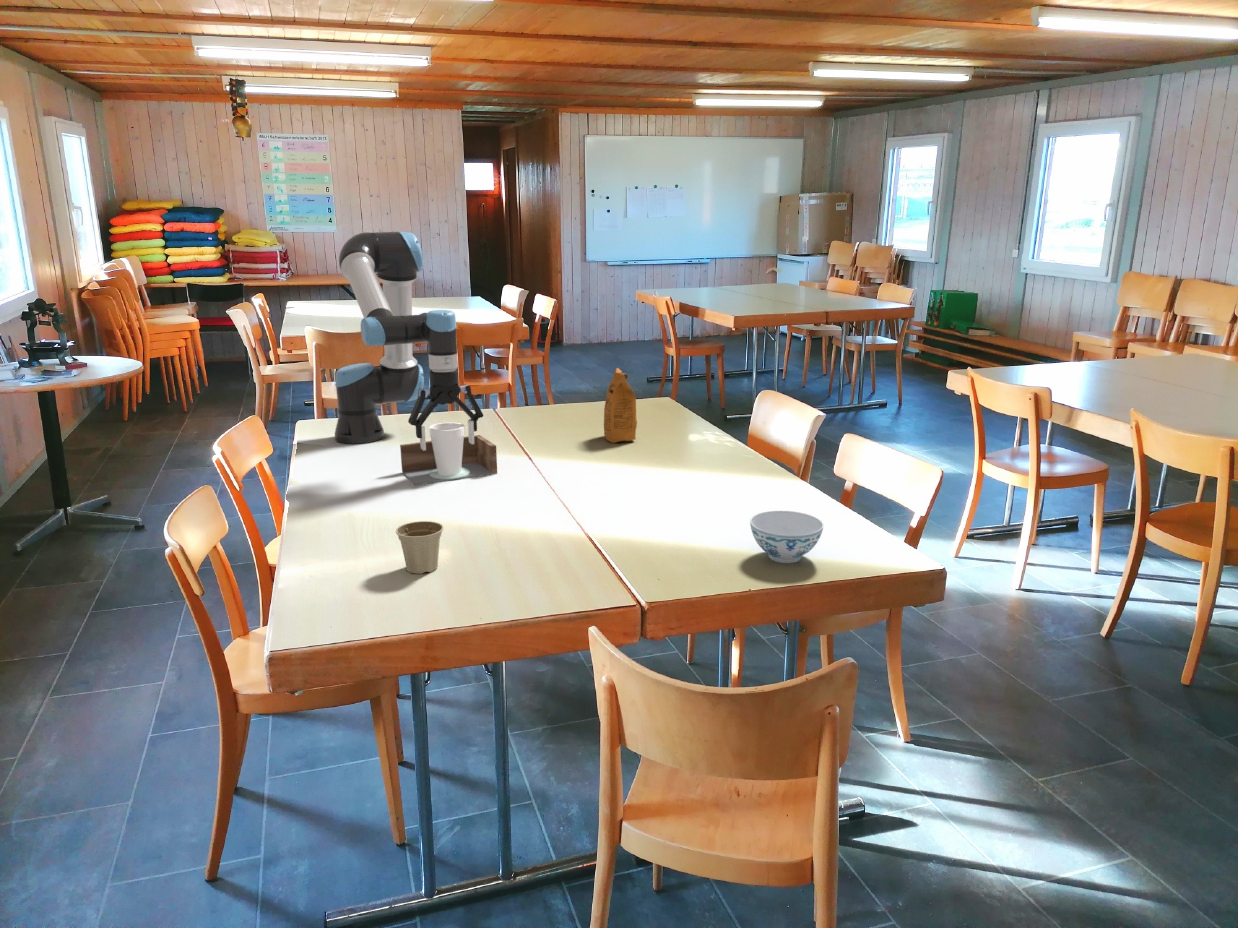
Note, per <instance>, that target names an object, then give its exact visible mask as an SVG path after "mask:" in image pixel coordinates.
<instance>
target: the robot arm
mask: <svg viewBox="0 0 1238 928" xmlns="http://www.w3.org/2000/svg"><path fill="white" fill-rule="evenodd" d="M341 247H342V248H341V249H340V253H339V255H338V265H339V269H340V271H341V274H342V275H343V277H344V278H345V279H346V280H348V281H349V285H350V287H351V289H352V293H353V294H354V297H355V299H356V302H357V304H358V307H359V309H360V311H361V314H362V316H363V318H362V319H361V321H360V334H361V340H362V342H363V344H364V345H365V346H367V347H368V346H369V347H374V346H377V347H383V346H384V356H383V357H382V358H381V359H380V360H379V366H377V367H374V366H373V364H372V363H370V362H364V363H356V364H350V365H346V366H343V367H341V368H339V369H337V371H336V372H335V383H334V386H335V387H336V389H335V391H336V398H337V409H338V417H337V422H336V424H335V425H336V426H335V431H334V441H335V442H338V443H341V444H352V445H353V444H366V443H373V442H376V441H379V440H382V439H383V438H385V432H384V431H385V430H384V427H383V425H382V422H381V420H380V418H379V415H378V412H377V405H383V404H393V403H394V404H395V403H402V402H403V403H407V402H410V401H415V402H414V406H413V408H412V410H411V413H410V415H409V418H408V420H407V421H408V424H409V425H411V426H414V427H415V436H416V438H417V439H419V442H420V447H421V449H422V450H423V451H424V450H426V442H427V441H426V428H425V426H424V425H423V424H424V423H425V422H426V420H427V419H428V418H429V417H430V415H431V413H432V412H434V411H433V410H434V409H435V408H436V407H437V406H438V405H451V404H453V403H456V404H457V406H458V407H459V408H460V409H461V410H462V411H463V412H464V413H465V414H466V415H467V416H468V417H469V418H468V419H467V432H468V435H467V437H469V443H471V444H474V436H475V432H477V431H478V422H477V421H478V420H479V419H480V418H483V417H484V413H483V411H482V410H481V408H480V405H479V404H478V402H477V401H476V399H475V397H474V395H473V393H472V388H471V386H470V385H468V384H466V383H465V384H463V385H461V386H460V385H459V383H460V382H459V381H460V379H459V370H458V366H459V364H458V363H459V362H458V344H457V343H458V341H457V339H458V338H457V325H458V324H457V322H456V321H457V320H456V314H455V312H454V311H452V310H447V309H435V310H429V311H428V312H422V313H419V314H413V303H412V302H413V298H412V297H413V293H412V291H413V289H412V285H413V283H414V282H415V281H416V280H417V276H418V274H417V273H420V272H421V271H423V267H424V258H423V252H422V249H421V248H422V247H421V245H420V242H419V239H418V238H417V236H416V235H415V234H414V233H413V232H406V231H381V232H380V231H379V232H360V233H358V234H355V235H353V236H352V237H350V238H349V239H348V240H346V242H345V243H344V244H343V246H341ZM376 274H377V275H376ZM379 280H380V282H381V283H382V286H381V283H380V282H379ZM422 343H423V344H424V343H427V349H428V368H429V369H430V371H429V386H430V387H429V389H424V383H425V378H424V370H423V369H424V368H423V366H421V364H419V363H418V360H417V359H416V358H415V357H414V356H413V344H422ZM461 392H462V394H464V395H465V397H466V399H467V400H468V402H469V404H470V406H471V408H472V410H473V411H474V413H473V411H472V410H471V409H470V408H469V407H468V406H467V405H466V404H465V403H464V402H463V401H462V400H461V399H460V397H459V395H460V394H461ZM428 395H430V397H431V398H430V399H429V401H428V403H427V405H426V407H425V408H424V409H423V411H422V412H421V410H422V408H423V405H424V403H425V402H426V398H427V397H428ZM420 412H421V413H420Z"/></svg>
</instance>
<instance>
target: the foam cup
mask: <svg viewBox="0 0 1238 928" xmlns="http://www.w3.org/2000/svg"><path fill="white" fill-rule="evenodd" d="M465 428H466V427H465V424H463V423H459V422H439V423H435V424H431V425H430V426H429V428H428V429H429V437H430V441H432V446H433V451H434V456H435V461H436V466H437V471H438V474H439V475H443V476H452V475H457V474H460V473H461V467H462V454H463V441H464V437H465V433H466V432H465Z"/></svg>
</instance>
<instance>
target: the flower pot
mask: <svg viewBox="0 0 1238 928" xmlns="http://www.w3.org/2000/svg"><path fill="white" fill-rule="evenodd" d="M443 531H444V525H443V524H442V523H440V522H438V521H437V522H436V521H433V520H432V521H431V520H425V521H424V520H422V521H421V520H418V521H413V522H412V521H411V522H407V523H404V524H401V525H399V526H398V527H397V528H396V529H395V534H396V535H397V536H398V540H399V541H400V544H401V548H402V554H403V557H404V558H403V559H404V562H405V567H406V568H405V569H406V570H407V571H408V572H409V573H411V574H417V575H421V574H424V573H427V572H428V573H431V572H434V571H436V570H437V569H438V567H439V553H440V552H439V551H440V542H441V541H440V540H441V537H442V533H443Z"/></svg>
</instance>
